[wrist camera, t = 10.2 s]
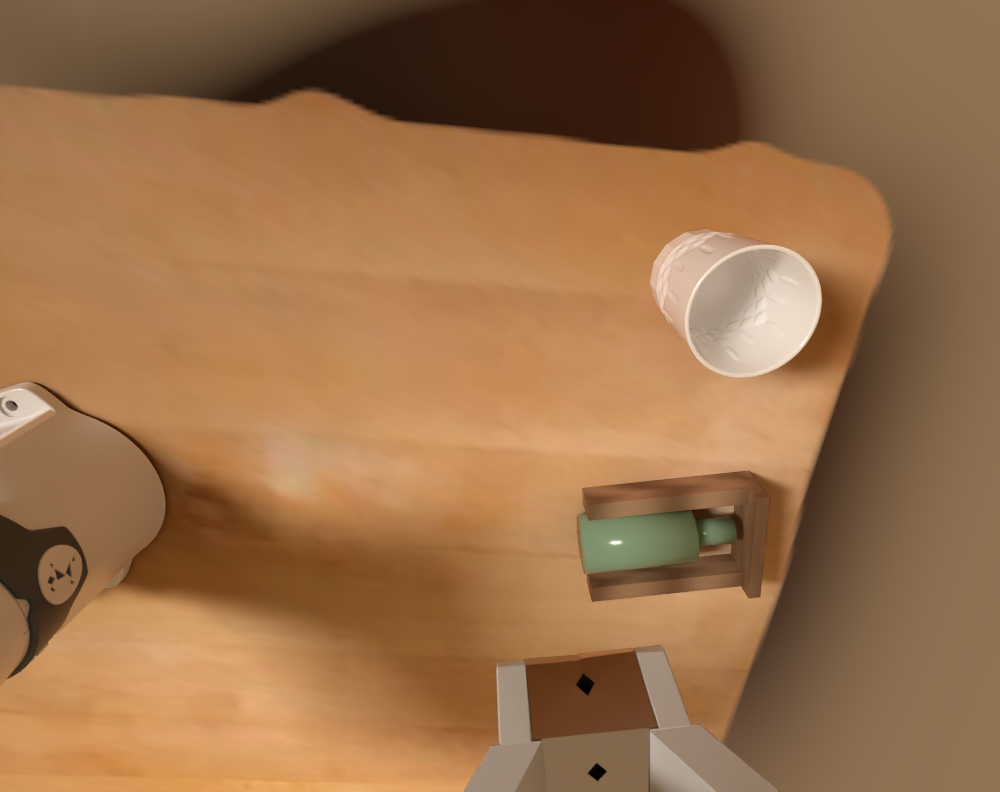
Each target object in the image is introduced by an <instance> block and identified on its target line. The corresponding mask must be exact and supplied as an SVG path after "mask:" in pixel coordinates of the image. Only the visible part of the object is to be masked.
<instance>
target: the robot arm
mask: <svg viewBox="0 0 1000 792" xmlns="http://www.w3.org/2000/svg"><path fill="white" fill-rule="evenodd" d="M12 401H14V402H15V403H16V404H17V406H18V407H17V406H15V405H14V404H13V402H12ZM165 506H166V503H165V494H164V490H163V486H162V483H161V481H160V478H159V476H158V474H157V472H156V470H155V468H154V467H153V465H152V464H151V462H150V461H149V459H148V458H147V457H146V456H145V454H144V453H143V452H142V451H141V450H140V449H139V448H138V447H137V446H136V445H135V444H134V443H133V442H131V441H130V440H129V439H128V438H127V437H125V436H124V435H123V434H121V433H120V432H118V431H117V430H115V429H113V428H112V427H110V426H108V425H106V424H104V423H103V422H100V421H98V420H96V419H93V418H91V417H88V416H86V415H83V414H81V413H79V412H76V411H74V410H72V409H70V408H69V407H67V406H66V405H65V404H63V403H62V402H61V401H60V400H58V399H57V398H56V397H55V396H54V395H52V394H51V393H50V392H48V391H47V390H45V389H44V388H42V387H41V386H39V385H37V384H34V383H30V382H24V383H20V384H16V385H13V386H10V387H7V388H4V389H0V686H1V685H2V684H3V683H4V682H5V680H6V679H8V678H10V677H12V676H14V675H16V674H17V673H19V672H20V671H21V670H23V669H24V668H25V667H26V666H27V665H28V664H29V663H30V662H31V660H33V659H34V657H35V656H36V655H37V656H38V655H39V654H40V653H41V652H42V651H43V650H44V648H45V647H46V646H47V645H48V641H49V640H50V639H51V638H52V637H53V636H54V634H57V633H58V632H60V631H61V630H62V629H63V628H64V627H66V626H67V625H68V624H69V623H70V622H71V621H72V620H73V619H74V618H75V617H76V616H77V615H78V614H79V613H80V612H81V611H82V610H83V609H84V608H85V607H86V606H87V605H88V604H89V603H90V602H91V601H92V600H93V599H94V598H95V597H96V596H97V595H98V594H99V593H100V592H101V591H102V590H103V589H109V588H113V587H115V586H117V585H118V584H119V583H120V582H121V581H122V580H123V579H124V578H125V576H126V575H127V573H128V571H129V568H130V565H131V562H132V559H133V558H134V557H135V555H137V554H138V553H139V552H140V551H141V550H142V549H144V548H145V547H146V546H147V545H148V544H149V543H150V542H151V541H152V540H153V539H154V538H155V536H156V535H157V534H158V532H159V530H160V528H161V526H162V523H163V520H164V516H165ZM525 662H526V666H525ZM526 674H527V675H526ZM496 675H497V702H498V729H499V745H494V746H490V748H489V750H488V751H487V753H486V755H485V756H484V758H483V760H482V761H481V763H480V765H479V766H478V768H477V770H476V771H475V773H474V775H473V776H472V778H471V780H470V781H469V783H468V785H467V786H466V788H465V790H464V791H463V792H779V791H778V790H777V789H776V788H775V787H773V786H772V785H771V784H770V783H769V782H768V781H766V780H765V779H764V778H763V777H762V776H760V775H759V774H758V773H757V772H756V771H754V770H753V769H752V768H751V767H750V766H749V765H748V764H746V763H745V762H744V761H743V760H741V759H740V758H739V757H738V756H737V755H736V754H735V753H733V752H732V751H731V750H730V749H729V748H728V747H726V746H725V745H724V744H723V743H722V742H721V741H719V740H718V739H717V738H716V737H715V736H714V735H712V734H711V733H710V732H709V731H708V730H706V729H705V728H704V727H703V726H702V725H701V724H700V725H692V724H691V721H690V718H689V716H688V713H687V710H686V708H685V705H684V702H683V699H682V697H681V694H680V691H679V689H678V686H677V683H676V680H675V678H674V675H673V672H672V670H671V667H670V664H669V661H668V659H667V656H666V653H665V651H664V649H663V648H662V647H661V645H656V646H647V647H638V648H633V649H632V648H626V649H618V650H609V651H601V652H592V653H583V654H578V655H570V656H556V657H543V658H530V659H523V660H510V661H498V662H497V668H496Z"/></svg>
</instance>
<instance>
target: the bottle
mask: <svg viewBox="0 0 1000 792" xmlns="http://www.w3.org/2000/svg"><path fill="white" fill-rule="evenodd" d="M577 533H578V543H579V551H580V557H581V563H582V567H583V571H584V573H585V574H589V573H600V572H610V571H621V570H631V569H642V568H652V567H663V566H673V565H684V564H694V563H696V562H697V561H698V557H699V546H710V545H720V544H731V543H735V542H736V539H737V532H736V527H735V523H734V521H733V519H732V518H731V517H730V516H726V517H716V518H705V519H694V516H693V514H692V511H691V510H685V511H675V512H666V513H656V514H647V515H637V516H628V517H618V518H609V519H599V520H590V521H588V518H587V515H586V514H579V515H577Z"/></svg>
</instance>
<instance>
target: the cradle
mask: <svg viewBox="0 0 1000 792" xmlns="http://www.w3.org/2000/svg"><path fill="white" fill-rule="evenodd" d="M582 492H583V505H584V508H585V512H586V515H587V518H588V521H590V520H599V519H609V518H618V517H628V516H637V515H647V514H656V513H666V512H675V511H685V510H694V509H704V508H714V507H723V506H733V505H734V519H733V521H734V523H735V527H736V532H737V539H736V542H735V543H732V548H731V554H723V555H714V556H704V557H698V561H697V562H696V563H694V564H684V565H673V566H663V567H652V568H642V569H631V570H621V571H610V572H600V573H589V574H587V583H588V587H589V592H590V596H591V600H592V602H593V601H603V600H612V599H622V598H632V597H641V596H651V595H660V594H670V593H680V592H689V591H699V590H708V589H718V588H728V587H737V586H742V588H743V590H744V592H745V593H746V595H747V597H748V598H756V597H760V595H761V584H762V574H763V564H764V553H765V543H766V533H767V522H768V512H769V502H770V497H769V495H768V494H767V493H766V492H765V491H764V489H763V488H762V487H761V486H760V484H759V483H758V482H757V481H756V479H755V478H754V477H753V476H752V474H751V473H750V472H749V471H742V472H732V473H723V474H713V475H704V476H694V477H685V478H675V479H666V480H656V481H647V482H637V483H628V484H618V485H609V486H599V487H590V488H582Z"/></svg>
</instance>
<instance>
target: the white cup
mask: <svg viewBox="0 0 1000 792" xmlns="http://www.w3.org/2000/svg"><path fill="white" fill-rule="evenodd" d="M650 286H651V290H652V294H653V297H654V301H655V303H656V305H657V306H658V307H659V308H660V309H661V310H662V312H663V314H664V316H665V318H666V319H667V321H668V322H669V323H670V325H671V326H672V327H673V329H674V330H675V332H676V333H677V334H678V336H679V337H680V338H681V339H682V340H683V342H684V343H685V344H686V345H687V346H688V348H689V349H690V350H691V351H692V353H693V354H694V355H695V356H696V358H697V359H698V360H699V361H700V362H701V363H702V364H703V365H704V366H706V367H707V368H709V369H710V370H712V371H714V372H716V373H718V374H721V375H724V376H728V377H735V378H748V377H755V376H759V375H763V374H766V373H769V372H771V371H773V370H775V369H777V368H779V367H781V366H783V365H784V364H786V363H787V362H788V361H790V360H791V359H792V358H793V357H795V356H796V355H797V354H798V353H799V352H800V351H801V350H802V348H803V347H804V346H805V345H806V344H807V342H808V341H809V339H810V338H811V336H812V334H813V332H814V330H815V328H816V326H817V323H818V321H819V317H820V313H821V307H822V292H821V286H820V282H819V279H818V277H817V275H816V273H815V271H814V269H813V268H812V266H811V265H810V264H809V263H808V262H807V261H806V260H805V259H804V258H803V257H802V256H801V255H799V254H798V253H796V252H794V251H792V250H790V249H788V248H785V247H781V246H778V245H774V244H770V243H767V242H763V241H760V240H756V239H753V238H749V237H745V236H740V235H736V234H731V233H724V232H716V231H713V230H710V229H702V230H695V231H689V232H684V233H683V234H681V235H680V236H678V237H677V238H675V239H674V240H672V241H670V242H669V243H667V244H666V245H665V247H664V248H663V250H662V251H661V253H660V254H659V256H658V257H657V258H656V260H655V261H654V263H653V269H652V274H651V279H650Z"/></svg>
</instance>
